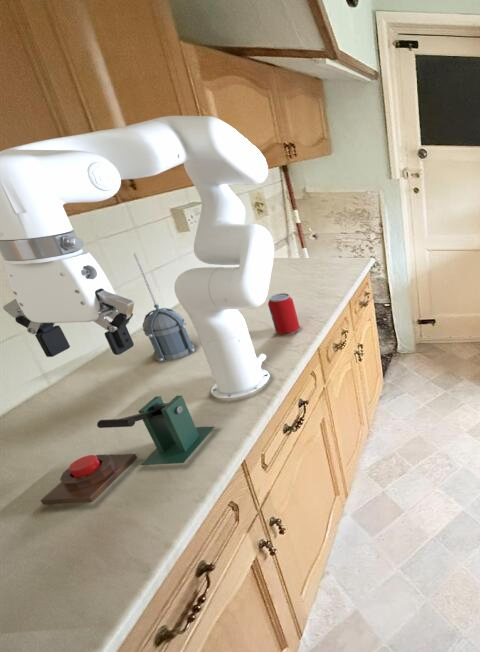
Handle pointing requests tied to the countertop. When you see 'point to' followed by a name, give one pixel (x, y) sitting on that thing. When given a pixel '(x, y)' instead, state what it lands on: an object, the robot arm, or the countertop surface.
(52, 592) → the countertop surface
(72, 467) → the red button
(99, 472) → the control block
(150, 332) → the lantern
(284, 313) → the beverage can
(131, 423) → the switch lever
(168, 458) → the switch bracket
